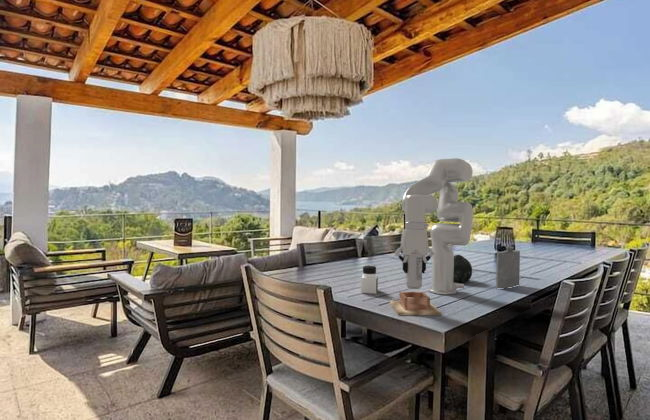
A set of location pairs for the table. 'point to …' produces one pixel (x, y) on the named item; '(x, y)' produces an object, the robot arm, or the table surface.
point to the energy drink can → (414, 270)
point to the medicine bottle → (369, 280)
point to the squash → (461, 269)
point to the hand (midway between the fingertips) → (414, 272)
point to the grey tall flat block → (508, 268)
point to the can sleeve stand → (414, 304)
